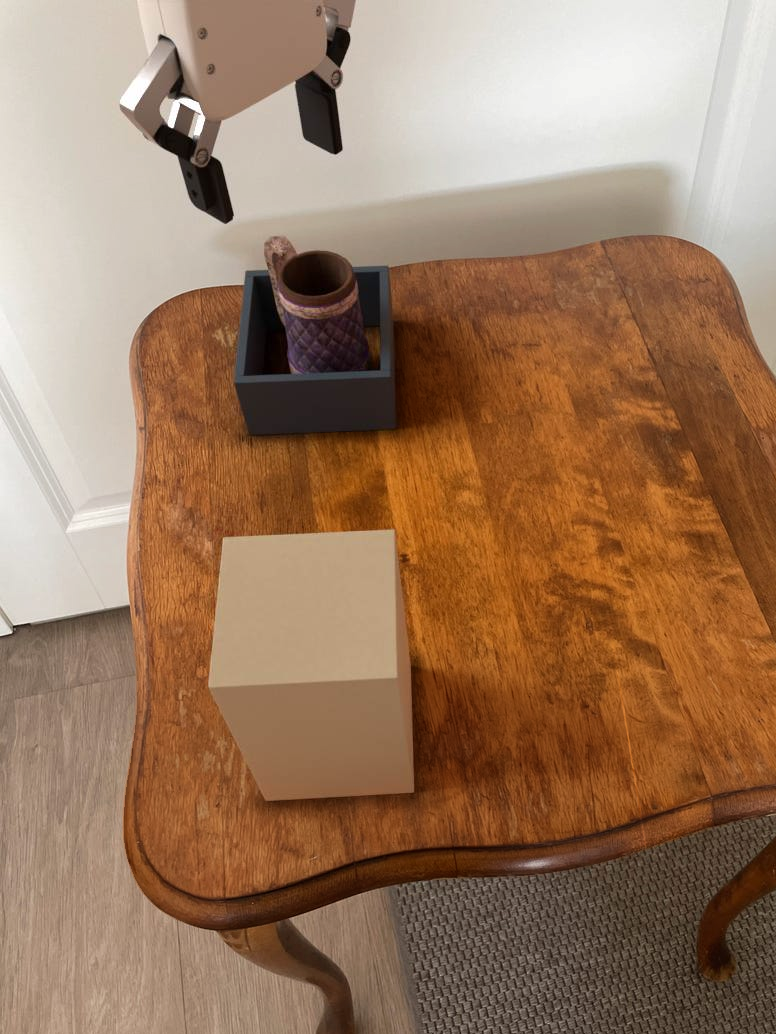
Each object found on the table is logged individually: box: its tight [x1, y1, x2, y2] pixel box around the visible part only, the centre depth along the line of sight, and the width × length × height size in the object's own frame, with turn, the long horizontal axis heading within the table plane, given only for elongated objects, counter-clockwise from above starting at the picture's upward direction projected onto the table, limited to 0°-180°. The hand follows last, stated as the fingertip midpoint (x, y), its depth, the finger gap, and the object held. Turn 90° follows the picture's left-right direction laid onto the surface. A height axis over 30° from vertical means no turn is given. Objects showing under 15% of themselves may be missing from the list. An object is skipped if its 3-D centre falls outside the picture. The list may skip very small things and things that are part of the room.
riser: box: [207, 528, 415, 802], centre depth 59 cm, size 10×10×16 cm
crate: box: [233, 265, 397, 436], centre depth 82 cm, size 13×14×6 cm
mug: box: [263, 235, 372, 374], centre depth 79 cm, size 10×7×12 cm
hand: (270, 178), depth 61 cm, fingers open, 9 cm apart
